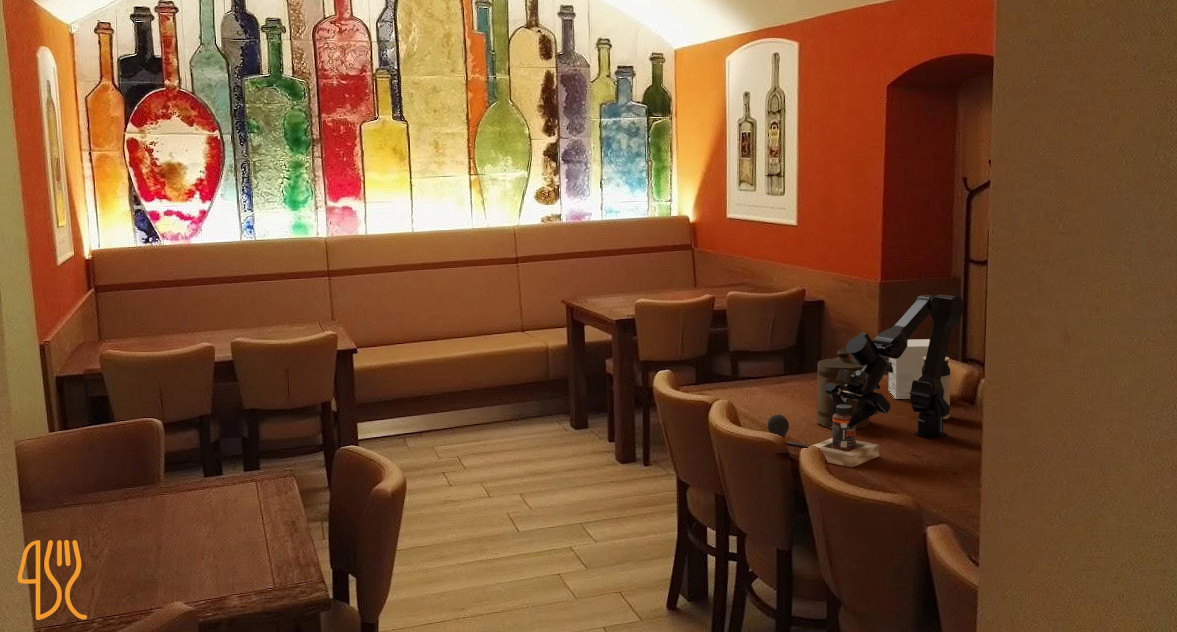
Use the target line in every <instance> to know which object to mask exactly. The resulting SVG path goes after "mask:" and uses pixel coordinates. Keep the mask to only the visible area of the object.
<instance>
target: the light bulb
mask: <svg viewBox="0 0 1177 632" xmlns="http://www.w3.org/2000/svg"><path fill="white" fill-rule="evenodd" d="M789 428H790V424H789V421H788V419H787V418H786V417H785V416H784V415H782V414H774V415H772V416H771V417H770V418H769V419H768V421H767V430H768V432H769V434H770V433H774V434H778V435H780V436H782V437H783V438H784V439H785V437H786V435H787V433H788V431H789Z"/></svg>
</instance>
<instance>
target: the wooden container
mask: <svg viewBox="0 0 1177 632" xmlns="http://www.w3.org/2000/svg"><path fill="white" fill-rule="evenodd" d="M836 354H837V357H833V358H825V359H822V360H818V361H817V364H816V365H817V376H816V377H817V381H816V383H817V385H816V387H817V388H816V417H817V418H816V423H817V422H818V423H819V424H821V425H824V426H827V427H832V426H833V425H832V424H833V423H832V422H831V421H830V418H831V413H832V408H833V400H832V399H831V398H830V397H829V395H828V394H827V393H826V392H825V391H824V388H825V386H826V385H827V383H835V384H839V385H841V386H842V388H843V389H844V390H845V391H848V390H849V389H847V388H846V387H845V386H844V385H845V384H844V383H842V382H840V381H839V382H838V381H836V380H837V377H838V374H839V370H840V369H841V370H846V371H851V372H856V371H857V370H861V369H862V367H863V366H862V365H859V364H858V363H857V362H856V360H855V359H854V358H850V357H849V355H850V353H849V352H848V351H847V349H846V348H841V349H839V350H837V352H836ZM845 403H846V404H847V405H851V406H852V413H853V414H854V412H855V411H856V409H857V407H858V401H854V400H850V399H848V400H847V402H845ZM818 423H817V424H818ZM819 424H818V425H819ZM821 425H820V426H821ZM869 425H870V417H868V418H867V419H865V420H863V421H861V422H860V423H858V424H856V430H857V428H858V429H862V427H863V428H866V427H868V426H869ZM824 426H823V427H824ZM827 427H826V428H827Z"/></svg>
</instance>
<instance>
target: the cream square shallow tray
mask: <svg viewBox="0 0 1177 632" xmlns="http://www.w3.org/2000/svg"><path fill="white" fill-rule="evenodd" d="M811 446H816V447H818V448H820V450H821V451H822V453H823V454H824V455H825V457H826V459H827V462H826V463H829V464H834V465H838V466H843V467H847V468H854V467H857V466H859V465H861V464H864V463H866V462H868V461H869V462H870V461H871V460H874V459H875V458H877V457H880V444H876V443H872V442H866V441H862V440H861V441H860V440H856V447H855V449H854V450H851V451H841V450H836V449H834V448H833V446H832V437H831V438H828V439H826V440H823V441H820V442H818V443H815V444H812V445H811ZM811 446H809V447H811Z"/></svg>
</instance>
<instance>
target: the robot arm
mask: <svg viewBox="0 0 1177 632" xmlns="http://www.w3.org/2000/svg"><path fill="white" fill-rule="evenodd" d="M964 309H965V303H964V301H963V299H962V297H960V296H958V295H957V296H956V295H949V294H948V295H947V294H936V295H929V294H920V295H918V296H917V297H916V299H915V302H914V303H913V304H912V305H911V306H910V308H908V310H906V312H905V313H904V314H903V315H902V317H900V319H899V320H898V321H896V323H895V324H894V325H893V326H892V327H891V328H890V327H889V328H888V329H885V330H883V331H882V332H880V333H879V334H878V335H876V337H875V338H874V339H871V337H870V335H869V334H868V333H865V332H860V334H859V335H856V336H855V337H853V338H852V339H850V340H849V341H848V342H847V344H846V348H845V349H846V350H847V351H848V352H849V355H850V356H851V357H852V359H855V360H856V362H857V363H858V364H859V365H862V366H863V367H862V369H861V370H857V371H856V372H851V371H846V370H841V369H840V370H839V374H838V377H837V380H836V381H838V382H839V381H840V382H842V383H844V384H845V385H844V386H845V387H846V388H847V389H849V390H848V391H845V390H844V389H843V388H842V386H841V385H839V384H835V383H827V385H826V386H825V388H824V391H825V392H826V393H827V394H828V395H829V397H830V398H831V399H832V400H833V408H832V413H831V418H830V421H831V422H832V423H833V415H834V414H835V413H836V412H837V411H836V406H837V405H847V404H846V403H845V402H847V400H848V399H850V400H854V401H858V407H857V409H856V411H855V412H854V414H853V416H852V418H851V419H850V422H849V424H848V426H849V427H850V428H851V427H853V426H855V425H856V424H858V423H860V422H861V421H863V420H865V419H867V418H868V417H869V418H871V417H872V416H874V415H878V414H879V413H880V414H884V415H888V413H889V411H890V409H891V403H890V402H889V400H887V398H886V397H885V396H884V394H883V393H880V392H875V391H876V390H877V391H879V390H880V389H881V385H880V383H881V381H882V379H883V377H884V376H885V374H886V373H889V372H890V373H893V367H892V363H891V362H889V361H888V360H887V359H886V358H888V359H889V358H893V359H898V358H899V357H900V356H901V355H902V354H903V352H904V351H905V349H906V348H907V344H908V340H910V337H911V336H912V335H913V333H914V332H916V331H917V329H918V328H919V327H920V325H921V324H923V322H924V321H925V320H926V319H927V318H928V317H930V320H931V322H932V328H931V332H930V333H931V334H930V338H929V340H930V342H929V346H928V351H927V355H926V360H925V364H924V369H923V373H922V376H921V377H920V378H919V379H918V380H917V381H916V380H913V382H912V388H911V391H910V393H909V394H911V395H910V400H909V401H910V404H911V407H912V410H913V412H914V413H918V419H917V431H914V432H913V434H914V435H917V436H921V437H925V438H927V439H935V438H936V439H937V438H940V437H946V436H948V433H947V432H944V420H943V417H945V416H946V415H949V412H951V406H949V405H948V403H947V402H946V401H945V400H944V398H943V397H944V388H943V386H942V383H941V375H942V371H943V366H944V362H945V357H947V354H948V353H947V352H948V348H949V344H950V343H949V342H950V339H951V335H952V334H951V333H952V331H953V328H954V327H955V326H956V325H957V324H958V323H959V322H960V320H961V319H962V318H961V317H962V315H963V312H964Z"/></svg>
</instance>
